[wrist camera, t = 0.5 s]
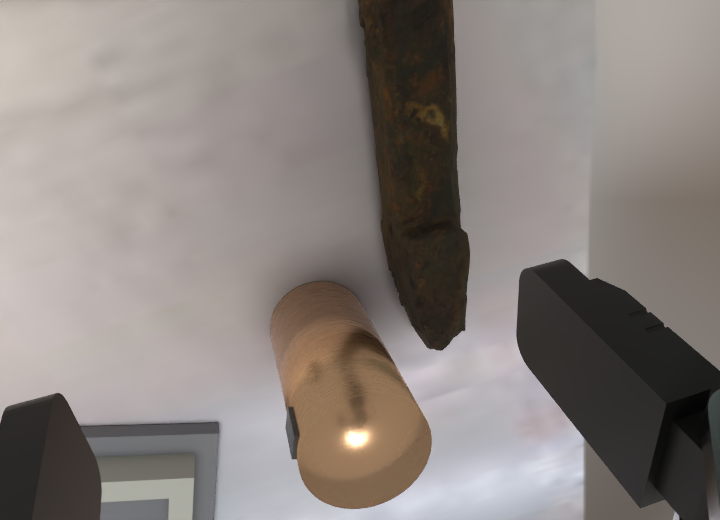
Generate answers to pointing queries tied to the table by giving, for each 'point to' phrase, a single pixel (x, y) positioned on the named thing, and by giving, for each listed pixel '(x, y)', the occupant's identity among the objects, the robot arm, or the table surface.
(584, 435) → the robot arm
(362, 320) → the copper cylinder
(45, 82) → the table surface
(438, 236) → the hand tool
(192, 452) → the duct flange
